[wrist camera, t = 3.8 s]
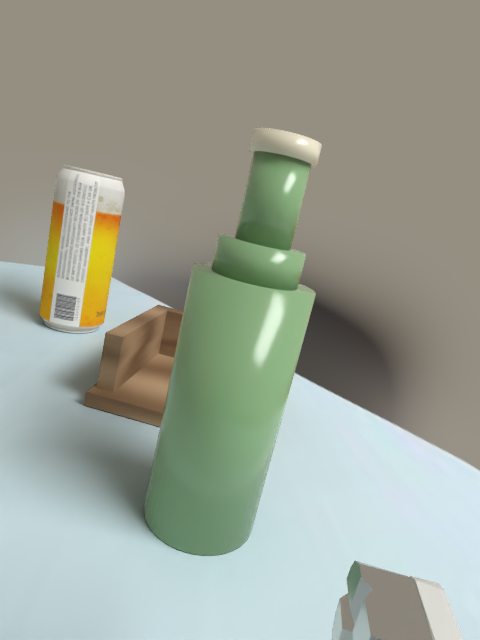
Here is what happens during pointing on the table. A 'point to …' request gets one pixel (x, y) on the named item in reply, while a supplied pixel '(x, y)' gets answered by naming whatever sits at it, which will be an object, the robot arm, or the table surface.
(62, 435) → the table surface
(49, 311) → the beer can
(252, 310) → the bottle
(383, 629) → the robot arm
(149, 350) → the tray
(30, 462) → the table surface
